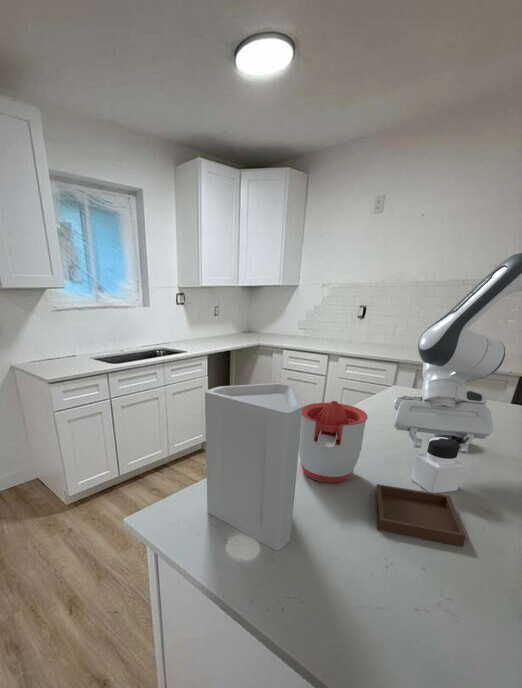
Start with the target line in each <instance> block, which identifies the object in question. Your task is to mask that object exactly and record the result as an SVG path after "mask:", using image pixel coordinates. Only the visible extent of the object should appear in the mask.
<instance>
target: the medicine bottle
mask: <svg viewBox="0 0 522 688" xmlns="http://www.w3.org/2000/svg"><path fill="white" fill-rule="evenodd" d="M459 448H460V444H458V443H457V442H456V441H454V440H452V439H449V438H444V437H436V438H435V437H431V439H429V440H428V444H427V448H426V453H417V454H416V455H415V459H414V463H413V468H412V472H411V476H410V480H411V481H413V482H414V483H415V484H417V485H418V486H420V487H421V488H423V489H424V490H425V491H426V492H430V493H436V494H442V493H448V492H449V493H451V492H455V491H458V490H459V486H460V483H461V480H462V478H463V477H462V476H463V474H464V469H465V463H463V462H462V461H459V460H457V458H458V454H459V453H458V451H459Z"/></svg>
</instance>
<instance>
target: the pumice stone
mask: <svg viewBox="0 0 522 688" xmlns="http://www.w3.org/2000/svg"><path fill="white" fill-rule="evenodd" d="M436 437H444V438H449V439H452V440H454V441H456V442H457V443H458V444H459V445H460V444H465V443H466V441H464V437H459V436H450V435H441V434H434V438H436Z"/></svg>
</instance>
